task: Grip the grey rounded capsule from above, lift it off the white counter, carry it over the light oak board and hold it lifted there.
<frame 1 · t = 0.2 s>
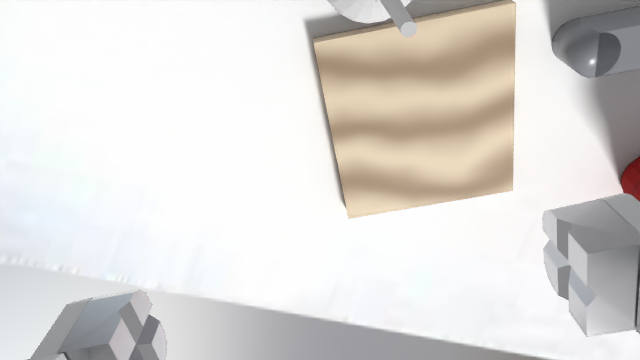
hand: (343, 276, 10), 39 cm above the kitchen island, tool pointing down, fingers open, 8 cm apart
oak board: (419, 117, 51), on the kitchen island
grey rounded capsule: (606, 33, 47), on the kitchen island
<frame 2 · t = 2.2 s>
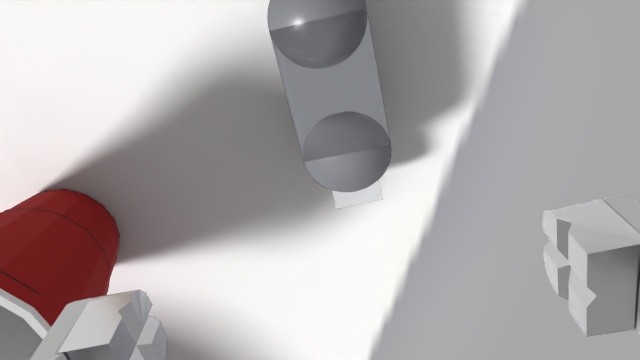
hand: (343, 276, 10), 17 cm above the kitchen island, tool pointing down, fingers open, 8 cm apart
plastic cup: (72, 225, 30), on the kitchen island
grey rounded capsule: (330, 64, 26), on the kitchen island
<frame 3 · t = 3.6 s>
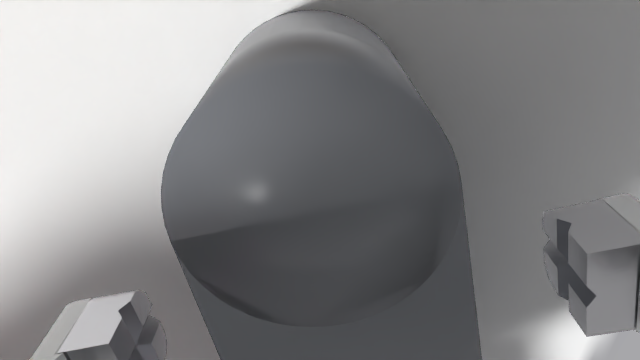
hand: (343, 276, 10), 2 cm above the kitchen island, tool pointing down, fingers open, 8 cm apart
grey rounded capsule: (341, 224, 12), on the kitchen island
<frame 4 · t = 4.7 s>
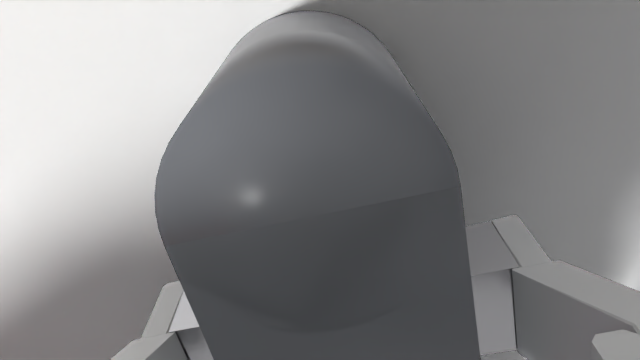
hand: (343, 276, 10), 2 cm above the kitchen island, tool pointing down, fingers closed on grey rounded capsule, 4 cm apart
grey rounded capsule: (339, 227, 12), on the kitchen island, touching gripper
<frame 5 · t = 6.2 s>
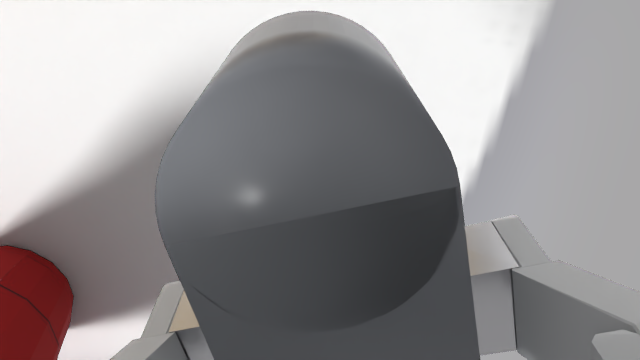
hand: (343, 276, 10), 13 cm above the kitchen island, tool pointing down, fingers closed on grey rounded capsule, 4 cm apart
plastic cup: (18, 285, 26), on the kitchen island
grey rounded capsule: (339, 227, 12), point 11 cm above the kitchen island, touching gripper
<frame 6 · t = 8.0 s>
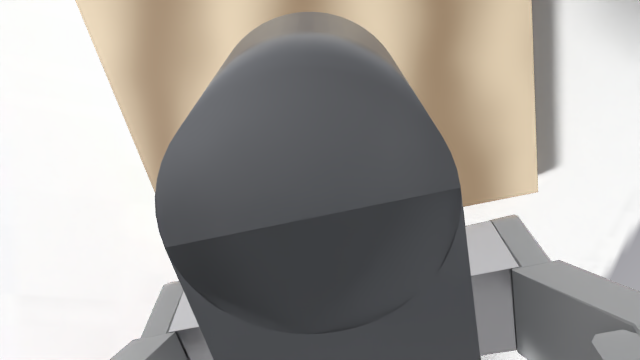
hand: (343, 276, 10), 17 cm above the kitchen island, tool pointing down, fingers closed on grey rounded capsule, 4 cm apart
oak board: (320, 63, 25), on the kitchen island
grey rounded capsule: (339, 228, 12), point 15 cm above the kitchen island, touching gripper
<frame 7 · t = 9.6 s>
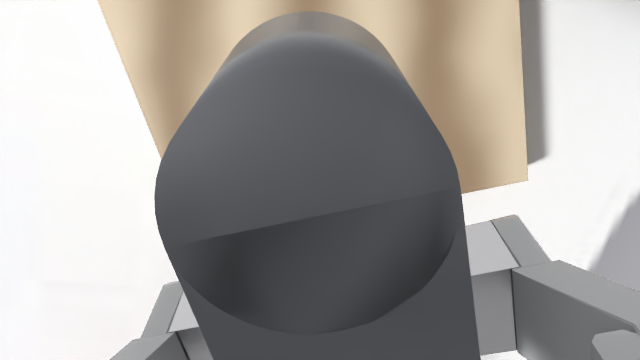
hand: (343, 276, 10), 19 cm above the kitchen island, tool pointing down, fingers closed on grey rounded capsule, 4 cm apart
oak board: (323, 61, 27), on the kitchen island
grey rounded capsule: (339, 227, 12), point 17 cm above the kitchen island, touching gripper
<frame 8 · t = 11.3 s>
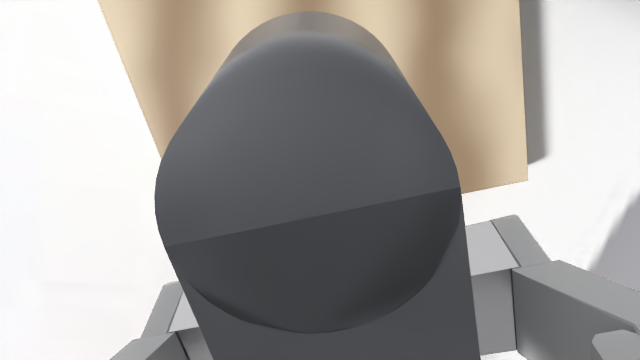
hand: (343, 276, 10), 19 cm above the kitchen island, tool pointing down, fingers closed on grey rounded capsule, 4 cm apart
oak board: (323, 61, 27), on the kitchen island
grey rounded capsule: (339, 227, 12), point 17 cm above the kitchen island, touching gripper
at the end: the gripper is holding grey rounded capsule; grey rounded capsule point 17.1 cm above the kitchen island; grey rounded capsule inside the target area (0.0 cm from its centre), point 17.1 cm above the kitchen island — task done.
